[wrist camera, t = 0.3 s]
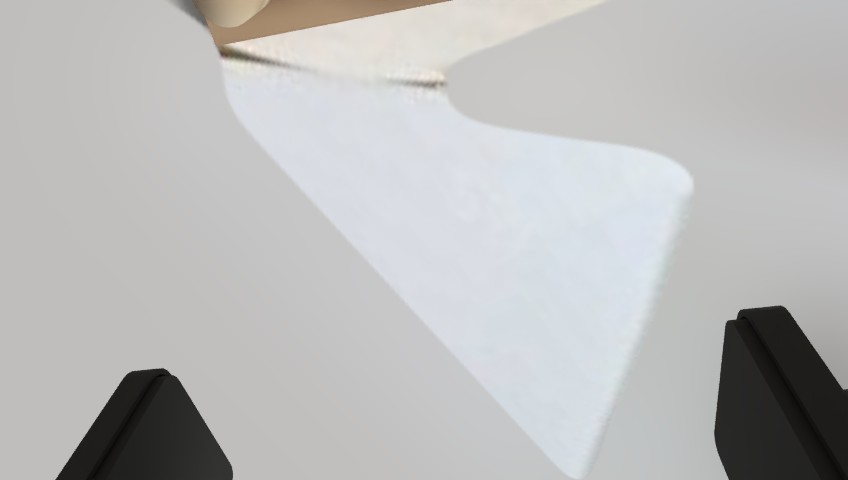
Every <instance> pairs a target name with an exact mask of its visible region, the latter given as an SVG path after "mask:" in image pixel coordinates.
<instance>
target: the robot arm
mask: <svg viewBox="0 0 848 480" xmlns="http://www.w3.org/2000/svg"><path fill="white" fill-rule="evenodd" d="M714 435H715V443H716V447H717V451H718V454H719V456H720V459H721V462H722V464H723V466H724V469H725V471H726V474H727V476H728V478H729V480H848V389H846V390H843V389H842V388H841V386H840V385H839V383H838V382H837V380H836V379H835V377H834V376H833V375H832V373H831V372H830V370H829V369H828V367H827V366H826V364H825V363H824V362H823V360H822V359H821V357H820V356H819V354H818V353H817V352H816V350H815V349H814V347H813V346H812V344H811V343H810V342H809V340H808V339H807V337H806V336H805V334H804V333H803V331H802V330H801V329H800V327H799V326H798V324H797V323H796V321H795V320H794V318H793V317H792V316H791V314H790V313H789V312H788V310H787V309H786V308H785V307H783V306H772V307H763V308H752V309H743V310H740V311H739V313H738V316H737V320H729V321H727V323H726V326H725V336H724V344H723V354H722V363H721V373H720V383H719V392H718V402H717V412H716V421H715V430H714ZM232 479H233V471H232V466H231V464H230V462H229V461H228V459H227V458H226V456H225V454H224V453H223V451H222V449H221V448H220V446H219V444H218V443H217V441H216V439H215V438H214V436H213V435H212V433H211V431H210V430H209V428H208V426H207V425H206V423H205V422H204V420H203V418H202V417H201V415H200V413H199V412H198V410H197V408H196V407H195V405H194V404H193V402H192V400H191V399H190V397H189V395H188V394H187V392H186V391H185V389H184V388H183V386H182V384H181V382H180V381H179V380H178V378H177V377H175V376H173V375H171V374H170V373H169V372H168V371H167V370H165V369H163V368H161V369H150V370H140V371H132V372H130V373H128V374H127V375H126V376H125V377H124V378H123V380H122V381H121V383H120V384H119V386H118V387H117V389H116V390H115V392H114V393H113V395H112V396H111V398H110V399H109V401H108V402H107V404H106V405H105V407H104V409H103V410H102V411H101V413H100V414H99V416H98V417H97V419H96V420H95V422H94V423H93V425H92V426H91V428H90V429H89V431H88V432H87V434H86V435H85V437H84V438H83V440H82V441H81V443H80V444H79V446H78V447H77V449H76V450H75V451H74V453H73V454H72V456H71V458H70V459H69V461H68V462H67V463H66V465H65V466H64V468H63V469H62V471H61V472H60V474H59V475H58V477H57V478H56V480H232Z"/></svg>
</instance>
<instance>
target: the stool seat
mask: <svg viewBox="0 0 848 480" xmlns="http://www.w3.org/2000/svg"><path fill="white" fill-rule="evenodd" d="M446 1H451V0H193V2H194V4H195V6H196V8H197V9H198V11H199V12H200V13H201V14H202V15H203V16H204V17H205V19H206V21H207V24H208V26H209V29H210V32H211V34H212V37H213V39H214V42H215V44H216V46H219V45H224V44H229V43H235V42H240V41H245V40H250V39H255V38H260V37H265V36H271V35H276V34H281V33H286V32H291V31H296V30H302V29H307V28H312V27H317V26H322V25H327V24H332V23H338V22H343V21H348V20H353V19H358V18H363V17H368V16H374V15H379V14H384V13H389V12H394V11H399V10H405V9H410V8H415V7H420V6H425V5H430V4H435V3H441V2H446Z"/></svg>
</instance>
